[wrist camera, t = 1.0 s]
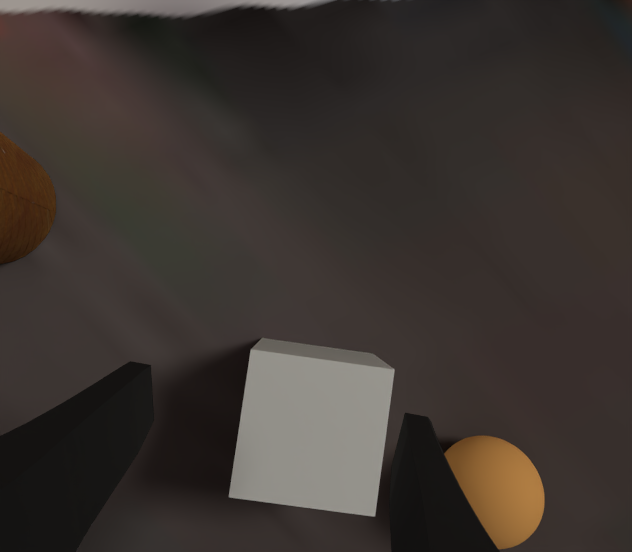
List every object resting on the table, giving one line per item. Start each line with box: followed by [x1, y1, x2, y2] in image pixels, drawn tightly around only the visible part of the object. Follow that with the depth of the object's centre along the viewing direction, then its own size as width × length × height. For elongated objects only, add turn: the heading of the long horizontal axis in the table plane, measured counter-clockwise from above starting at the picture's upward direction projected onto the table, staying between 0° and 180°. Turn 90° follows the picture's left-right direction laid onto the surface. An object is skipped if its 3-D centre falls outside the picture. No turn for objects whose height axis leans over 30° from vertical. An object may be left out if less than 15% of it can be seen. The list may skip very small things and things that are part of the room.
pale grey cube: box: [229, 338, 394, 517], centre depth 23 cm, size 6×6×6 cm
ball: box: [444, 436, 544, 549], centre depth 23 cm, size 5×5×5 cm
